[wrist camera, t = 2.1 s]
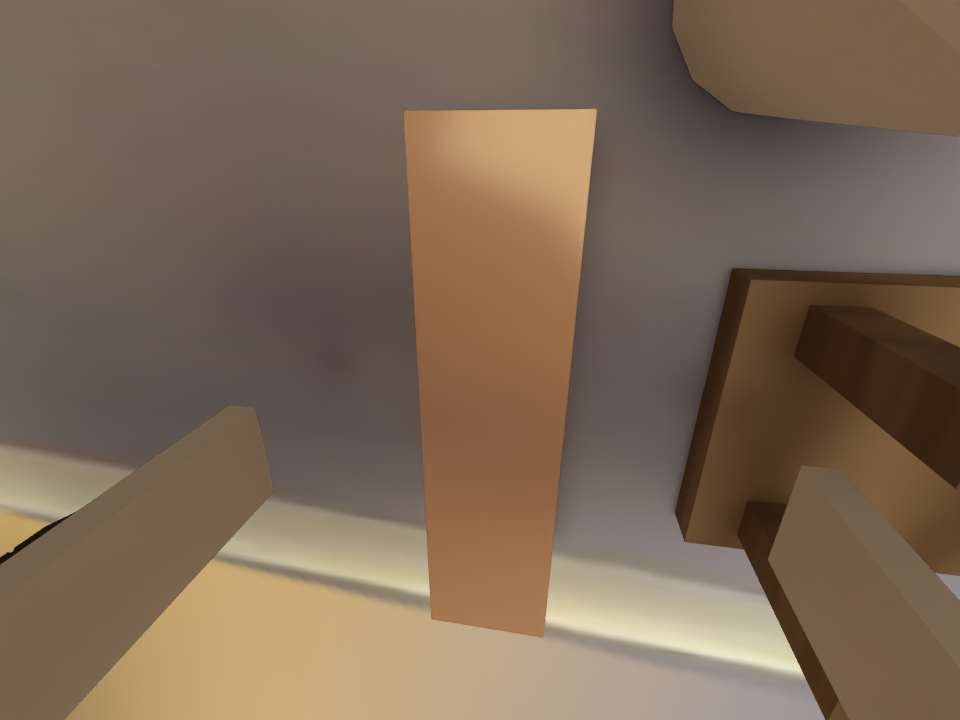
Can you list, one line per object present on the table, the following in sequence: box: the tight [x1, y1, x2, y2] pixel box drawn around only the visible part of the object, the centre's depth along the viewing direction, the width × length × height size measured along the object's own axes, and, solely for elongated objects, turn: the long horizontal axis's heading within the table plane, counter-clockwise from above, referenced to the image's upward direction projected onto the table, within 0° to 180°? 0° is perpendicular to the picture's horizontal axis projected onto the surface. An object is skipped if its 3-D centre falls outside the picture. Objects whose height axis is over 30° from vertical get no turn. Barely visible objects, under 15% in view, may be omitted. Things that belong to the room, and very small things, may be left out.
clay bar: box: [404, 109, 597, 637], centre depth 15 cm, size 16×4×5 cm, turn 0°
